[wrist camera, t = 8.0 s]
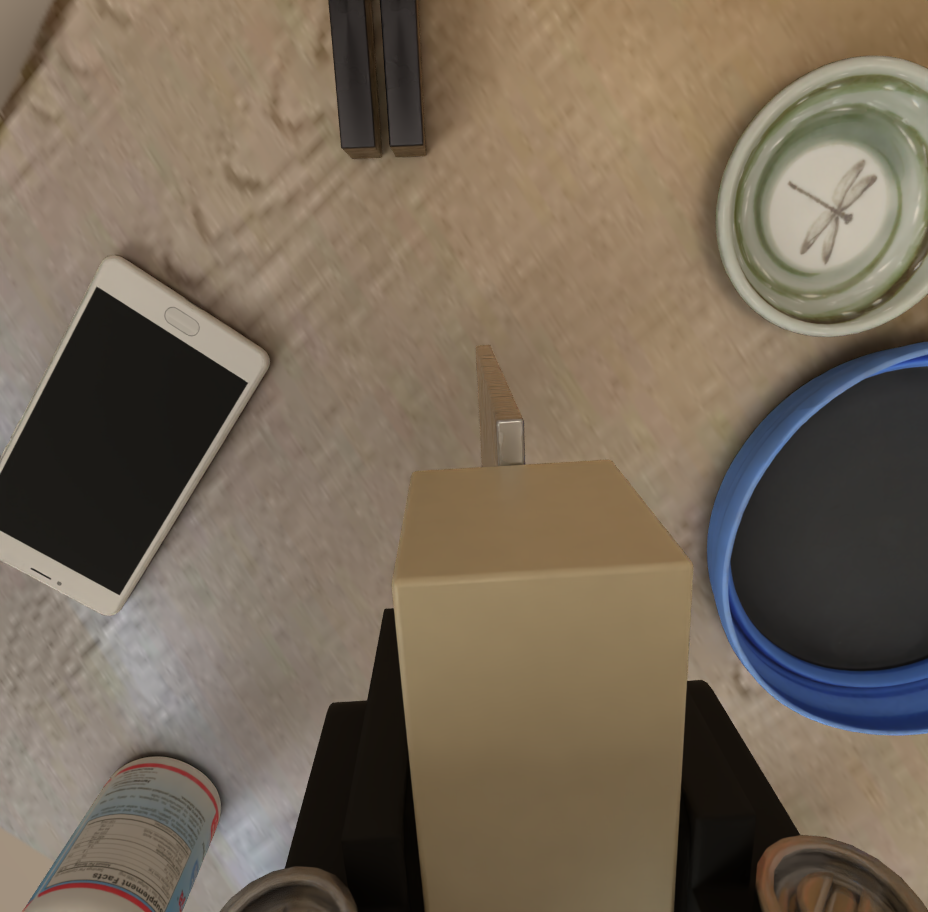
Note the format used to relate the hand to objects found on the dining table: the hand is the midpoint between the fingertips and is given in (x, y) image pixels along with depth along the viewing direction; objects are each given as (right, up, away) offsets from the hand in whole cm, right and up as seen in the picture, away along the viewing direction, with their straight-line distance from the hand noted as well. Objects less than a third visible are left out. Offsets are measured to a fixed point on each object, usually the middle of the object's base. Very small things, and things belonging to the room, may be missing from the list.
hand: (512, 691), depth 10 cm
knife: (0, +1, +4) cm, 5 cm away
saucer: (+13, +14, +16) cm, 25 cm away
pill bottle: (-16, -15, +24) cm, 33 cm away
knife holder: (-4, +19, +14) cm, 24 cm away
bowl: (+19, 0, +20) cm, 28 cm away
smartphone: (-16, +4, +18) cm, 25 cm away
